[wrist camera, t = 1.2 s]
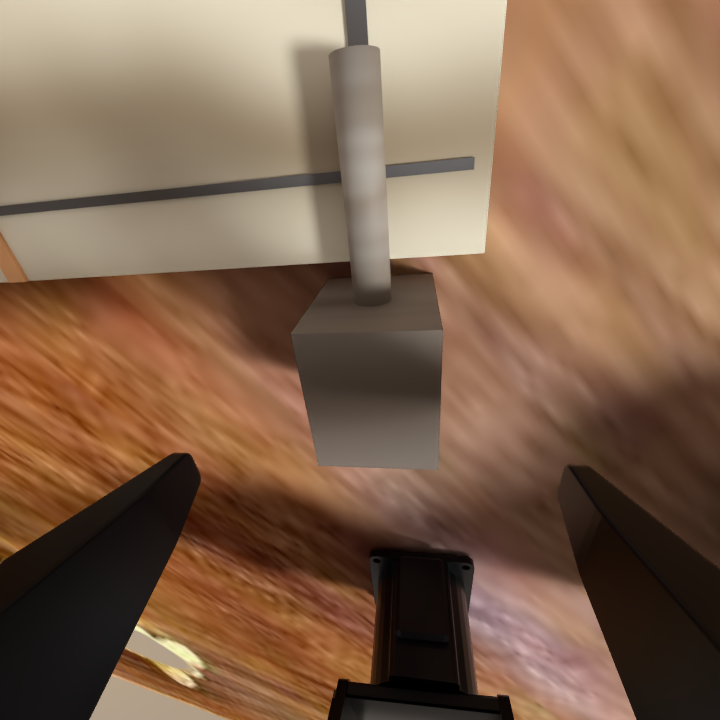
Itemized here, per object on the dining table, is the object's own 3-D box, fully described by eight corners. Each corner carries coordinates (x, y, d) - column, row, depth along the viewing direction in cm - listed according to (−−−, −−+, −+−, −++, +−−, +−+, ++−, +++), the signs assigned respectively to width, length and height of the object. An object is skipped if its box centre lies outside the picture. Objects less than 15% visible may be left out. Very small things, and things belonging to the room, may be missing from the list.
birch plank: (476, 243, 12) (485, 253, 11) (-30, 276, 15) (-74, 287, 14) (503, -109, 8) (522, -165, 7) (-188, 41, 11) (-271, 24, 10)
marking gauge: (430, 382, 15) (438, 469, 11) (343, 383, 16) (318, 465, 12) (435, 66, 10) (454, -5, 6) (302, 86, 10) (226, 35, 6)
